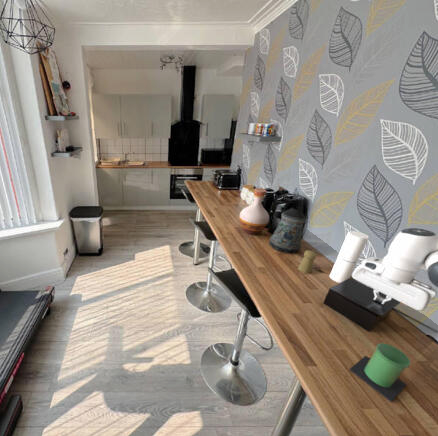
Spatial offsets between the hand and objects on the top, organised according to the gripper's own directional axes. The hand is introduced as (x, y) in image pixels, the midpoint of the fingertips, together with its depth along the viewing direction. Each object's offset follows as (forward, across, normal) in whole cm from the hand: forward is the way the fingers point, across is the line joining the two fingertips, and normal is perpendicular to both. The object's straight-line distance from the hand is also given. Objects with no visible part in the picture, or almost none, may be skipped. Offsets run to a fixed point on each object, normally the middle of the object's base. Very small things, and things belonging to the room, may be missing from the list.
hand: (378, 301), depth 88 cm
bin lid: (+1, +5, 0) cm, 5 cm away
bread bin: (+9, +5, 0) cm, 11 cm away
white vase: (+10, +74, -20) cm, 77 cm away
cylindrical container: (+10, +19, -17) cm, 27 cm away
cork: (+10, +31, -10) cm, 34 cm away
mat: (+9, -12, +25) cm, 29 cm away
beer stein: (+10, +52, -23) cm, 58 cm away
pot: (+9, -12, +25) cm, 29 cm away
